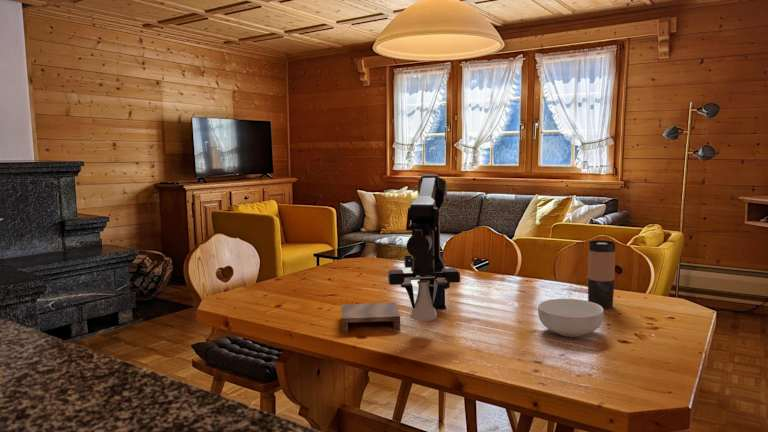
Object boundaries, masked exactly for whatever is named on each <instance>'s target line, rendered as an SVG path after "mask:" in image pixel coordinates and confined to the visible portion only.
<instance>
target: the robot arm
mask: <svg viewBox="0 0 768 432" xmlns="http://www.w3.org/2000/svg"><path fill="white" fill-rule="evenodd" d="M417 194H418V195H417V197H416V198H414V199H412V200H411V202H410V206H408V207H407V214H406V227H405V230H406V231H411V236H410V237H409V238H408V240H407V243H406V250H407V253H408V254H409V255H404V258H403V259H404V263H403V264H404V268H406V269H407V268H410V271H411V272H404V271H403V269H389V270H388V272H387V282H388V285H390V286H391V285H392V286H394V285H395V286H396V285H400V288H405V290H406V292H407V296H408V298H409V300H410V304H411V307H412V309H413V308H414V306H415V296H414V289H413V288H414V287H413V286H414V285H413V283H412V281H419V280H428V281H430V282H429V293H430V297H431V300H432V302H433V307H434V308H435V310H441V309H447V305H446V290H448V289H451V284H452V283H453V284H455V283H461V274H460V272H459V271H458V270H457V268H455V267H448V268H447V267H446V262H445V261H444V259H443V258H442V256H441V208H442V206H443V204H444V202H445V201H446V197H447V195H448V185H447V181H446V179H443V178H441V177H440V176H439V174H438V175H437V174H423V175H421V176H420V178H419V179H418V180H417Z"/></svg>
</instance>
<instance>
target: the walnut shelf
mask: <svg viewBox="0 0 768 432" xmlns="http://www.w3.org/2000/svg"><path fill="white" fill-rule="evenodd" d="M372 322H373V323H374V322H391V323H392V325H393V326H392V327H393V330H394V331H395V332H396V331H397V332H398V331H401V315H400V312H399V309H398V306H397V302H372V303H371V302H369V303H351V304H350V303H347V304H346V303H345V304H341V333H345V334H346V333H347V334H348V333H349V323H372Z"/></svg>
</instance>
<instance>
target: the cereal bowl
mask: <svg viewBox="0 0 768 432" xmlns="http://www.w3.org/2000/svg"><path fill="white" fill-rule="evenodd" d="M537 306H538V307H537V313H538V317H539V321H540V322H541V324H542V325H543V326H544V327H546V329H548V330H549V331H550V330H551V332H552V331H553V332H555V333H556V334H557V333H558V335H559V334H560V336H562V337H563V336H564V337H568V336H569V337H571V338H572V337H573V338H576V337H577V338H578V337H583V336H585V335H587V334H589V333H593V332H595V331H597V330H598V328H600V327H601V325H602V324H603V320H604V314H605V313H604V311H605V309H603V308H602V307H601V306H600V305H598V304H596V303H593V302H589V301H588V300H584V299H583V300H582V299H576V298H555V299H553V298H552V299H548V300H544V301H540V303H539V304H538V305H537Z"/></svg>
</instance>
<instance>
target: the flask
mask: <svg viewBox="0 0 768 432" xmlns="http://www.w3.org/2000/svg"><path fill="white" fill-rule="evenodd" d="M429 282H430V281H428V280H417V284H418V291H417V296H416V299H415V301H414V303H415V306H414V308H413V307H412V312H411V314H410V317H409V319H413V320H416V321H421V322H422V321H424V322H425V321H426V322H429V321H432V320H436V319H437V317H438V312H437V311H436V310H437V309H435V308H434V307H433V302H432V300H431V297H430V293H429Z"/></svg>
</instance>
